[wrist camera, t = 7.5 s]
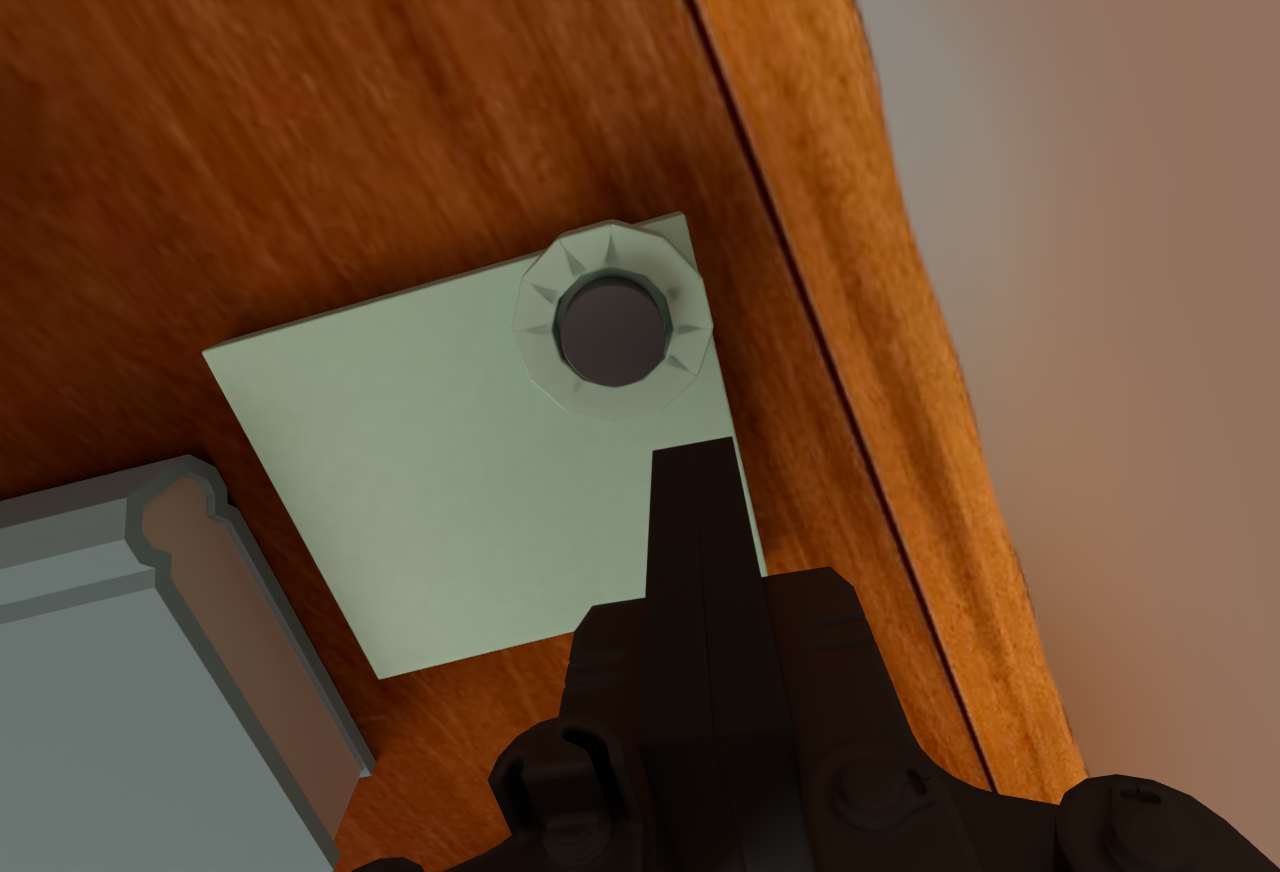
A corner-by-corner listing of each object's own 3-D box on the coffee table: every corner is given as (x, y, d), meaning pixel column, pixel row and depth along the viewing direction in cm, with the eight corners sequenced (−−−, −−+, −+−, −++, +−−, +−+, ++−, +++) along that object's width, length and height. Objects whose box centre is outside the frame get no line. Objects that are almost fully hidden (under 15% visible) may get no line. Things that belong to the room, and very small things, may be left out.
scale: (676, 196, 22) (687, 201, 19) (762, 562, 27) (780, 608, 24) (216, 328, 23) (161, 351, 20) (388, 656, 28) (364, 711, 25)
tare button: (648, 264, 20) (650, 271, 19) (672, 359, 21) (676, 372, 20) (550, 292, 20) (546, 301, 19) (580, 384, 21) (578, 398, 20)
